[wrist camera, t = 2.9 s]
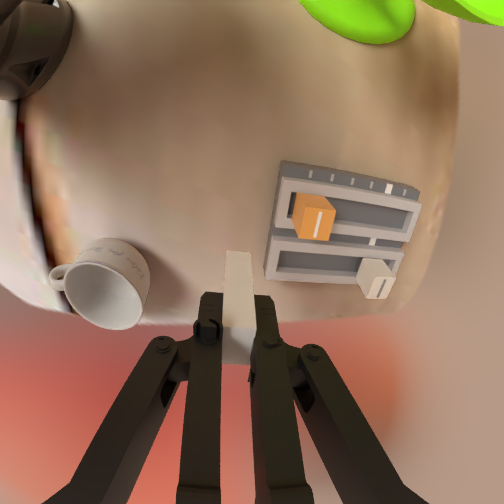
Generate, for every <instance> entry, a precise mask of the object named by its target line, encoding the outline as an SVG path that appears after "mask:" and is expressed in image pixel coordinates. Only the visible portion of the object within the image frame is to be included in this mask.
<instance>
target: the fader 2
mask: <svg viewBox="0 0 504 504" xmlns="http://www.w3.org/2000/svg"><path fill="white" fill-rule="evenodd" d="M356 271H357V272H358V273H357V275H356V278H355V279H356V281H357V283H358V285H359V287H360V288H361V290H362V292H363V294H364V296H365V297H366V299H386V298H387V296H388V294H389V292H390V290H391V288H392V286H393V283H394V281H395V279H396V277H395V276H394V274H393V273H392V271H391V270H390V269H389V267H388V266H387V265H386V263H385V262H384V261H383V259H371V258H360V259H359V261H358V264H357V267H356Z"/></svg>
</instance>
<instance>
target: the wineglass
mask: <svg viewBox="0 0 504 504" xmlns="http://www.w3.org/2000/svg"><path fill="white" fill-rule="evenodd" d="M422 1H423V2H425V3H427V4H428V5H430V6H432V7H433V8H435V9H438V10H441V11H443V12H446V13H448V14H451V15H453V16H456V17H459V18H462V19H465V20H468V21H470V22H476V23H482V24H488V25H496V26H504V0H422ZM299 2H300V3H301V4H302V5H303V7H304V8H305V9H306V10H307V11H308V12H309V13H310V14H311V16H313V17H314V18H315V19H316V20H318V21H319V22H320V23H322V24H323V25H324V26H325V27H327V28H328V29H330V30H332V31H334V32H336V33H338V34H340V35H341V36H343V37H346V38H349V39H352V40H355V41H358V42H362V43H370V44H383V43H391V42H393V41H395V40H397V39H399V38H401V37H402V36H403V35H404V34H405V33H406V32H407V31H408V30H409V29H410V28H411V25H412V23H413V20H414V16H415V4H414V0H299Z"/></svg>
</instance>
